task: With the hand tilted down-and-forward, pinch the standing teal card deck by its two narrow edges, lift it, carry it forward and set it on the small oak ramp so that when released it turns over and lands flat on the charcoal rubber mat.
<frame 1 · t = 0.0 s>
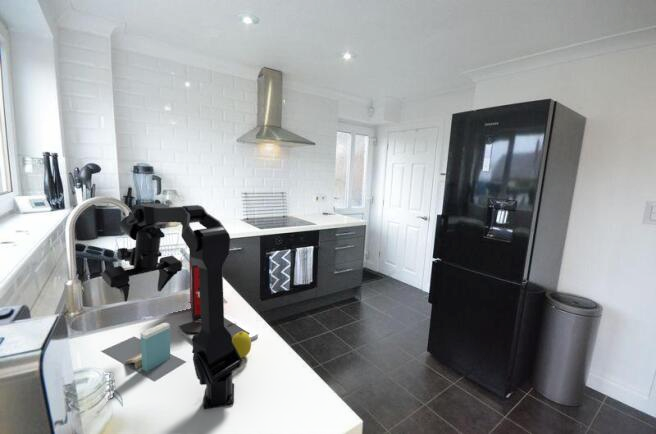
hand: (142, 295, 85), 15 cm above the worktop, tool pointing down, fingers open, 9 cm apart
ramp: (146, 359, 81), resting on mat
mat: (143, 357, 82), on the worktop
card deck: (156, 363, 79), resting on mat
picture frame: (217, 337, 95), on the worktop
lemon: (241, 358, 84), on the worktop
cleaning product box: (204, 309, 112), on the worktop
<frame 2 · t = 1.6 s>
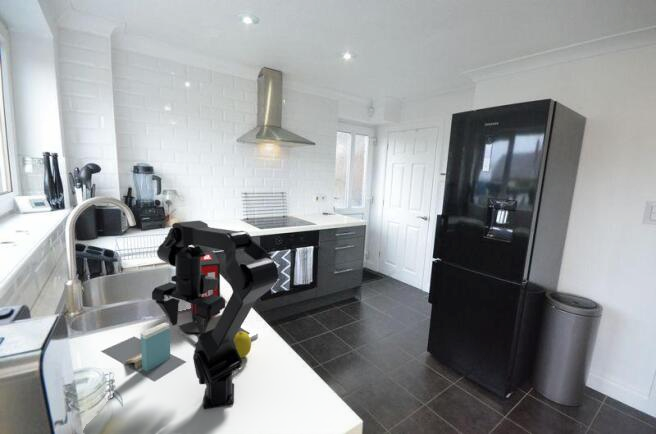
hand: (188, 329, 75), 12 cm above the worktop, tool pointing down, fingers open, 9 cm apart
nothing on the worktop moved.
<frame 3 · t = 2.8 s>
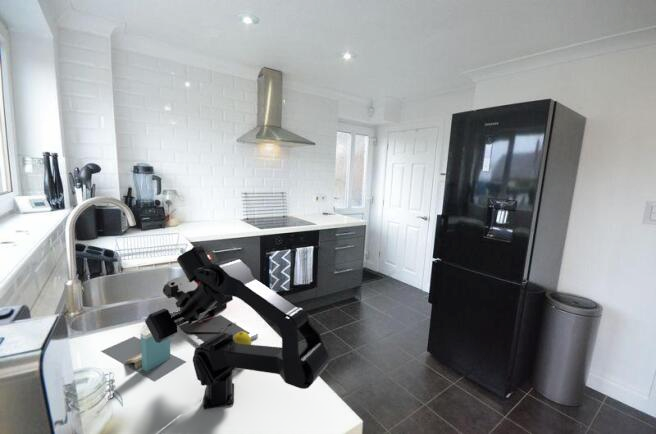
hand: (174, 328, 74), 12 cm above the worktop, tool tilted 45°, fingers open, 9 cm apart
nothing on the worktop moved.
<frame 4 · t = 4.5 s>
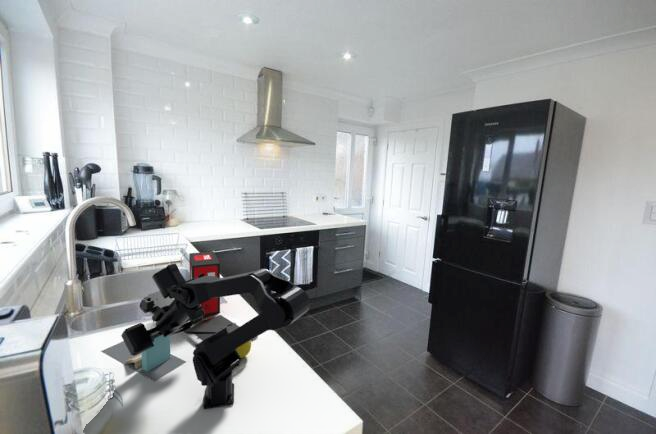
hand: (152, 340, 79), 7 cm above the worktop, tool tilted 45°, fingers closed on card deck, 6 cm apart
card deck: (156, 363, 79), resting on mat, touching gripper
everything else where it was.
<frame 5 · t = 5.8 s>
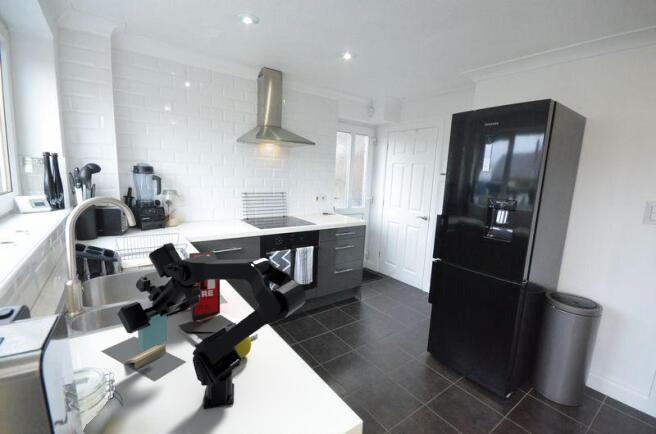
hand: (149, 321, 79), 12 cm above the worktop, tool tilted 45°, fingers closed on card deck, 6 cm apart
card deck: (153, 344, 79), point 5 cm above the worktop, touching gripper
everything else where it was.
when the fingers open (9 cm above the worktop, at t = 7.3 s): card deck moves 2 cm and tips over, resting on mat, ramp.
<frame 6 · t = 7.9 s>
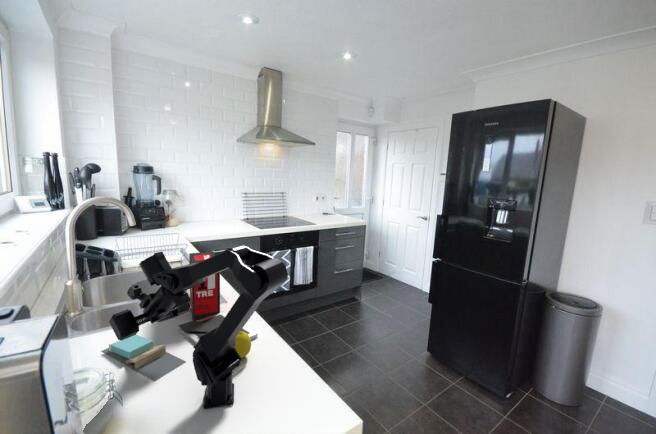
hand: (141, 327, 81), 9 cm above the worktop, tool tilted 45°, fingers open, 9 cm apart
card deck: (142, 349, 82), point 2 cm above the worktop, tilted 95°, touching mat, ramp
everything else where it was.
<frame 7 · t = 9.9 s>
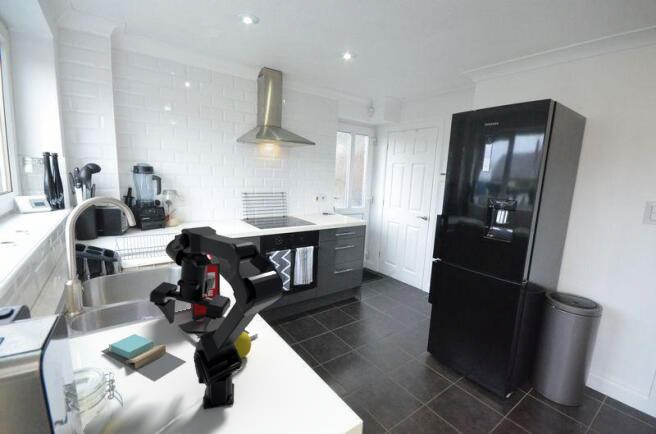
hand: (188, 326, 78), 11 cm above the worktop, tool pointing down, fingers open, 9 cm apart
nothing on the worktop moved.
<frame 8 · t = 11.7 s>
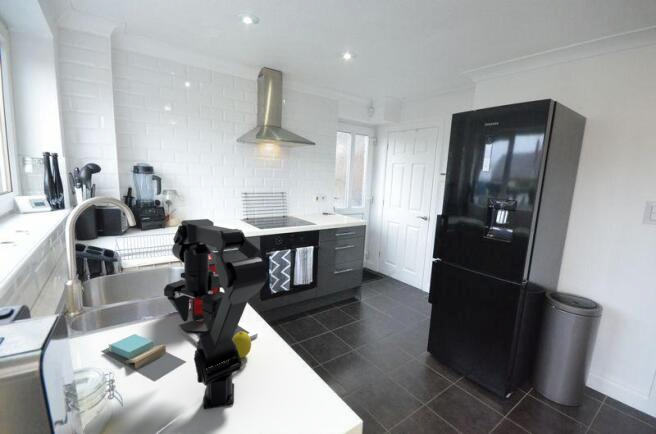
hand: (197, 325, 77), 12 cm above the worktop, tool pointing down, fingers open, 9 cm apart
nothing on the worktop moved.
at the end: card deck tilted 95°; card deck inside the target area (2.8 cm from its centre), point 2.2 cm above the worktop; the gripper is holding nothing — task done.
